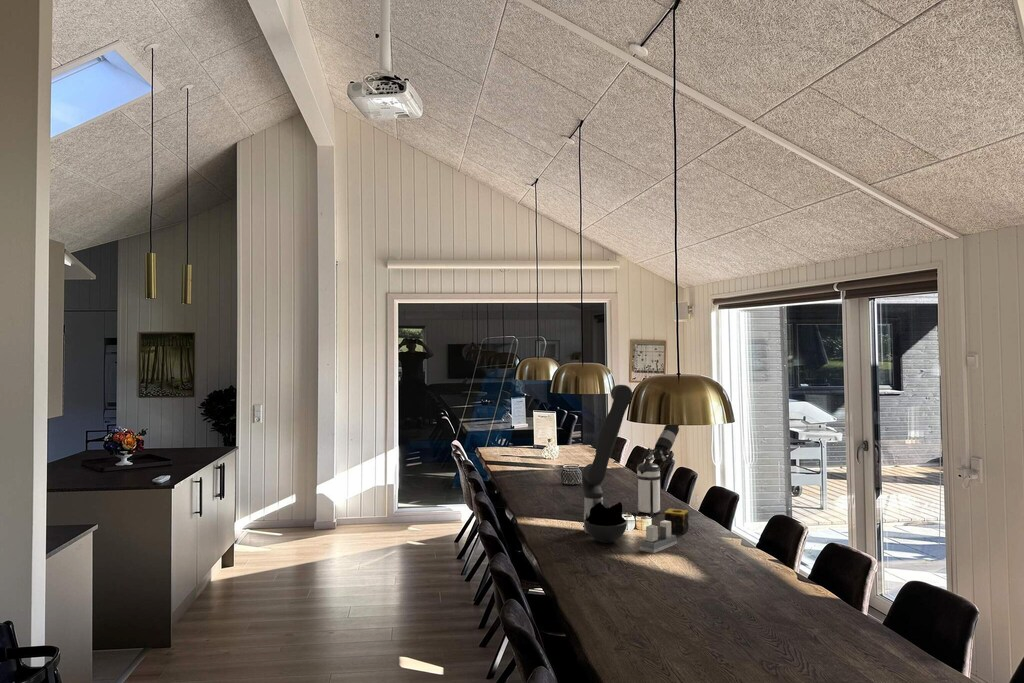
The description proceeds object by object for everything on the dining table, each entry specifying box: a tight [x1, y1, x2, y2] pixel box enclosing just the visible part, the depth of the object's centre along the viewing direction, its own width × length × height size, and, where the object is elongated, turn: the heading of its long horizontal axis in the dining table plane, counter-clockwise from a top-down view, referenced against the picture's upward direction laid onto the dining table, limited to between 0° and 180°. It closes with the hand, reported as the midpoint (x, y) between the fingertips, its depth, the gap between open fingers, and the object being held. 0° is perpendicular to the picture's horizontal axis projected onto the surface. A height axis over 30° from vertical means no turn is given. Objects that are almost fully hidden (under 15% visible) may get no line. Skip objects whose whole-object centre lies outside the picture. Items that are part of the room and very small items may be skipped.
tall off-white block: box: [659, 519, 672, 538], centre depth 319 cm, size 4×4×9 cm
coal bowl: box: [583, 501, 628, 544], centre depth 324 cm, size 20×20×19 cm
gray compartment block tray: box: [639, 524, 678, 554], centre depth 315 cm, size 20×7×10 cm, turn 136°
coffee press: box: [634, 462, 663, 517], centre depth 381 cm, size 17×16×30 cm
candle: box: [663, 507, 690, 535], centre depth 343 cm, size 10×10×10 cm
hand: (652, 467), depth 332 cm, fingers open, 8 cm apart
